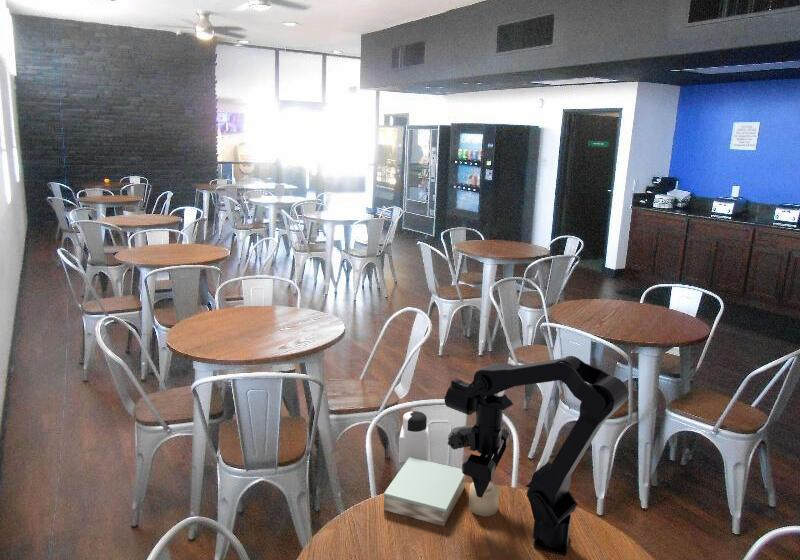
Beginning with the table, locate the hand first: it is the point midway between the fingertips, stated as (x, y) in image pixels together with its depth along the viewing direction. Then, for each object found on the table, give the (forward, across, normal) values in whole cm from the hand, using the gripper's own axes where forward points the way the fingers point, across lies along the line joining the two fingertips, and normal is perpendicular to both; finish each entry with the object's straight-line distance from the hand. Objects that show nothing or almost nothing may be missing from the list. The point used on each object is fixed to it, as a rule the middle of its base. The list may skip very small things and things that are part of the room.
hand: (484, 485), depth 132 cm
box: (+5, +2, -13) cm, 14 cm away
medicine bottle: (+6, -14, -22) cm, 27 cm away
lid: (+2, +2, -13) cm, 13 cm away
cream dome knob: (+6, 0, 0) cm, 6 cm away
